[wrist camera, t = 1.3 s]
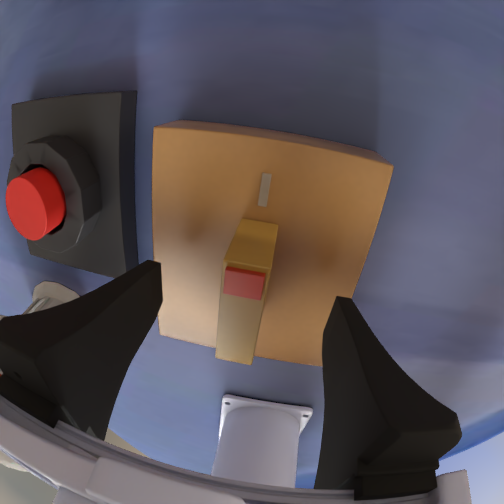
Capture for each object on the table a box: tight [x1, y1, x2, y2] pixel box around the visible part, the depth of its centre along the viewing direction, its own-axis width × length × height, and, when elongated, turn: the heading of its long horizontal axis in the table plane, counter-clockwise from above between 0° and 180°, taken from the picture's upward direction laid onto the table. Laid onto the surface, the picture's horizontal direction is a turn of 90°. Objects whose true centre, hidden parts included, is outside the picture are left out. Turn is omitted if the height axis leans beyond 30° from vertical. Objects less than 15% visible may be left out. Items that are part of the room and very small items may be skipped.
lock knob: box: [215, 218, 278, 365], centre depth 13 cm, size 5×2×4 cm, turn 173°
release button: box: [6, 167, 66, 240], centre depth 13 cm, size 4×4×2 cm
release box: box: [7, 91, 138, 278], centre depth 15 cm, size 11×9×4 cm
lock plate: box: [152, 120, 394, 367], centre depth 15 cm, size 12×10×3 cm
